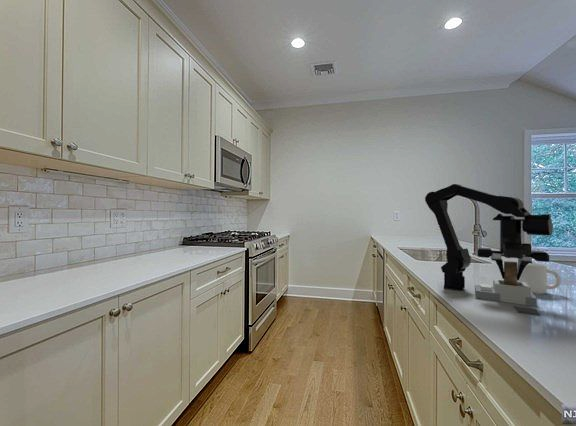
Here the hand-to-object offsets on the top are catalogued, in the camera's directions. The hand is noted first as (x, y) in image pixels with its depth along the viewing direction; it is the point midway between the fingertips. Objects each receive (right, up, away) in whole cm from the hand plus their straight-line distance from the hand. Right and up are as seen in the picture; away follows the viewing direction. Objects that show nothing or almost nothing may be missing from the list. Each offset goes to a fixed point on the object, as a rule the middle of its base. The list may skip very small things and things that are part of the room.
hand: (510, 279), depth 95 cm
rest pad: (-4, -7, -12) cm, 14 cm away
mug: (+17, -7, +9) cm, 21 cm away
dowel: (0, -4, 0) cm, 4 cm away
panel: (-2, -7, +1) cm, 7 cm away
